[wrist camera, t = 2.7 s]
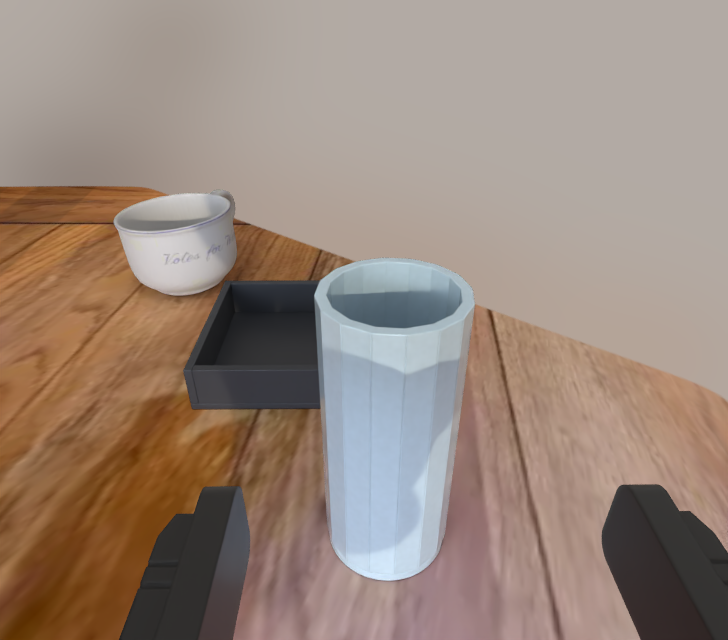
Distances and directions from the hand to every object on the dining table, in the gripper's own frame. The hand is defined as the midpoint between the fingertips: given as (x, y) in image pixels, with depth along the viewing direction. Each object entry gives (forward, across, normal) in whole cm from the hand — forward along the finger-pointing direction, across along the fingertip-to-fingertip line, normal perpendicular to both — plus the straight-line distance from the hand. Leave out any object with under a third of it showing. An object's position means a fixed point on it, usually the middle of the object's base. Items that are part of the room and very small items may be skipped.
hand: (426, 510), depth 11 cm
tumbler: (+11, 0, +16) cm, 19 cm away
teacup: (+42, +18, +16) cm, 49 cm away
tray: (+28, +7, +16) cm, 33 cm away
